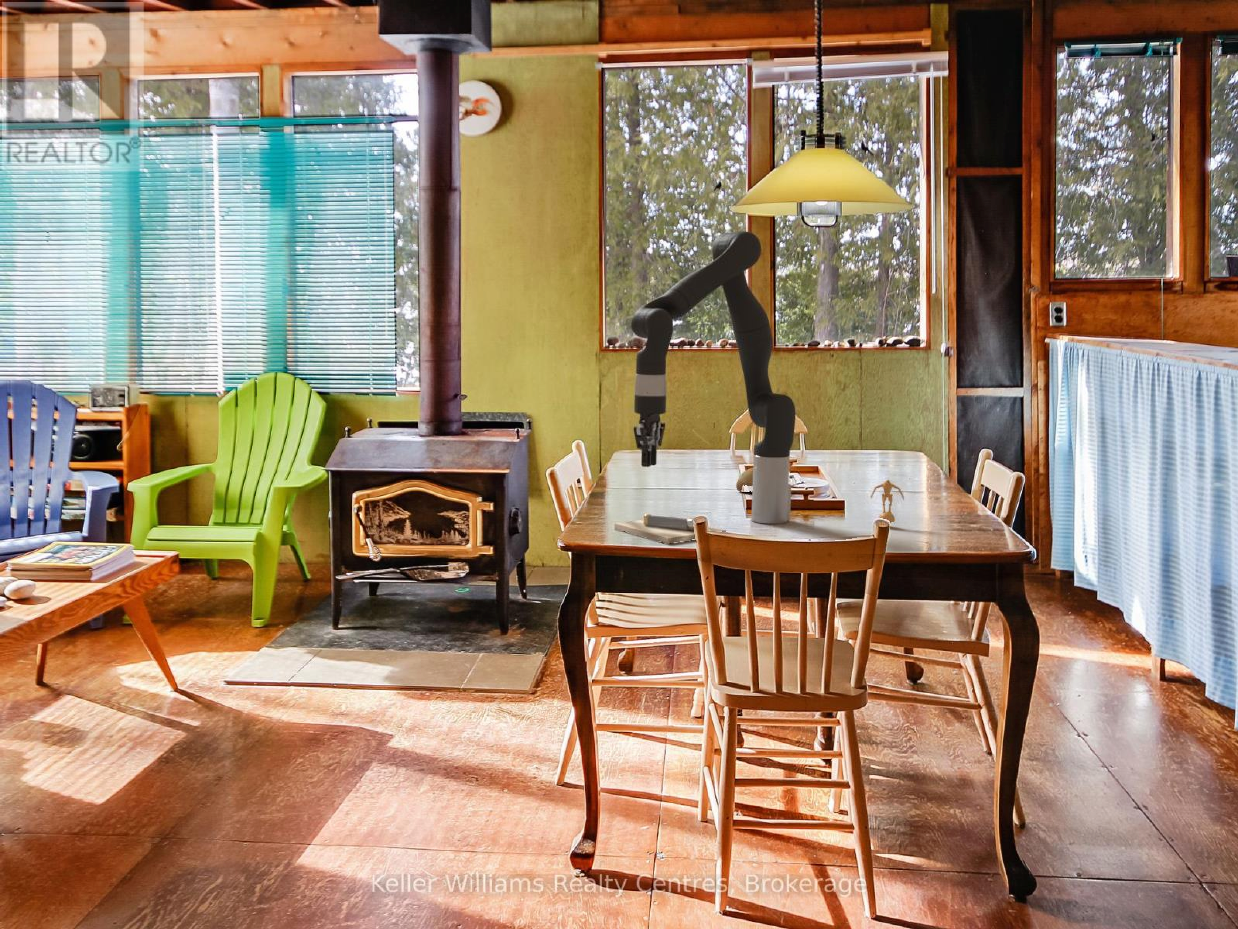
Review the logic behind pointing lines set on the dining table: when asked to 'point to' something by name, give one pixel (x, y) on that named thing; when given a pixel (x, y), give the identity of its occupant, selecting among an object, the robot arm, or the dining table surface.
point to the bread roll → (745, 479)
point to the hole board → (659, 531)
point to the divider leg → (668, 522)
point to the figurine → (887, 488)
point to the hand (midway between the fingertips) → (648, 465)
